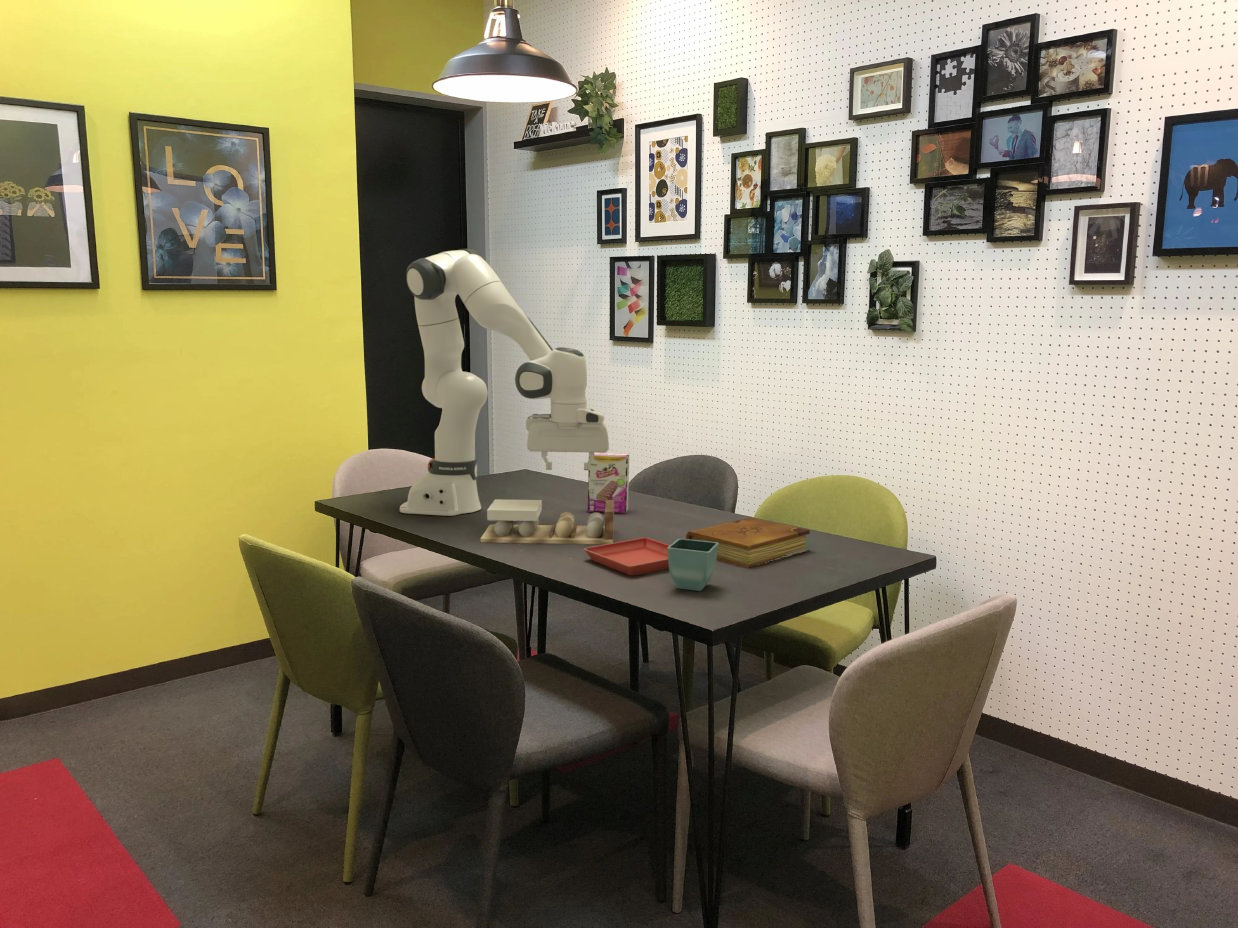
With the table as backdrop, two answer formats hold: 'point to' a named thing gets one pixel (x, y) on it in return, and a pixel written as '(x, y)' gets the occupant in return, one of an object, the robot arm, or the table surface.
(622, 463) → the candy bar box
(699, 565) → the flower pot
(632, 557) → the plant saucer
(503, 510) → the slab
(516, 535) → the roller bed
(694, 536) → the diary
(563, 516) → the roller
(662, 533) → the table surface
